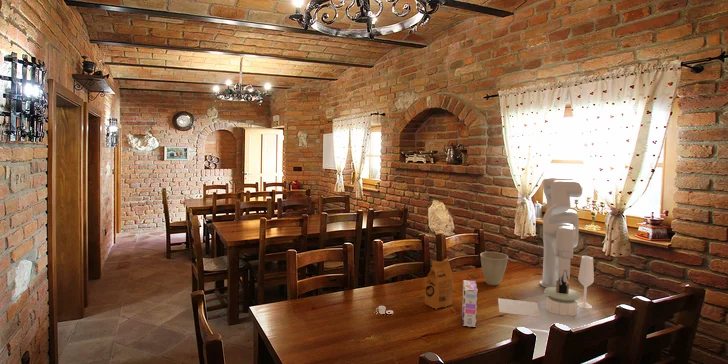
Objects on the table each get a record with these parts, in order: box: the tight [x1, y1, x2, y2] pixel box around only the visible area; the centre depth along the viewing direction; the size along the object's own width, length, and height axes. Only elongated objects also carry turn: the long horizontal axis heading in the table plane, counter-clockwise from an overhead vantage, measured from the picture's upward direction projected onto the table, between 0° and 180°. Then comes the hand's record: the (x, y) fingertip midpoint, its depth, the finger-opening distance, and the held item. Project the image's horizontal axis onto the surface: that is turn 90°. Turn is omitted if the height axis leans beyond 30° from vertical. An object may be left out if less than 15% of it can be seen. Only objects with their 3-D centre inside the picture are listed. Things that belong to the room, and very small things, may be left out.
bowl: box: [545, 294, 579, 317], centre depth 199 cm, size 13×13×6 cm
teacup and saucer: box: [375, 305, 394, 315], centre depth 192 cm, size 9×8×4 cm
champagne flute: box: [577, 255, 595, 309], centre depth 204 cm, size 7×7×24 cm
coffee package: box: [424, 258, 454, 310], centre depth 204 cm, size 10×12×22 cm
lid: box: [544, 280, 581, 301], centre depth 198 cm, size 15×15×6 cm
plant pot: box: [479, 251, 509, 286], centre depth 236 cm, size 15×15×16 cm
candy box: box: [461, 279, 479, 328], centre depth 185 cm, size 14×6×16 cm, turn 168°
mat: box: [497, 297, 542, 318], centre depth 201 cm, size 18×18×1 cm
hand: (561, 291), depth 198 cm, fingers closed on lid, 3 cm apart
